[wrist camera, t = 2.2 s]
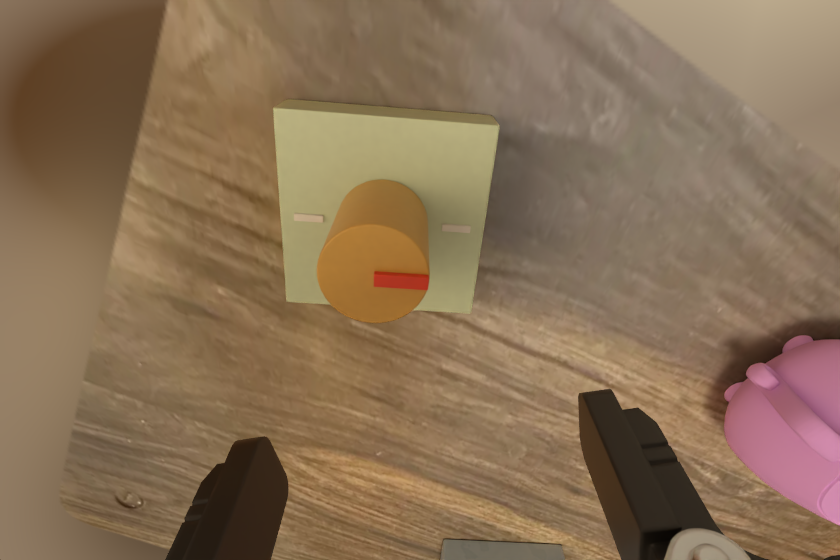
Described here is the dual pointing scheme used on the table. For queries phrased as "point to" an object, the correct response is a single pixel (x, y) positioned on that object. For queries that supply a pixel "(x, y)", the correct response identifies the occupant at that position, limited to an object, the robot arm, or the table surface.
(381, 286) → the lock knob
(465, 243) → the plate
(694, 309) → the table surface
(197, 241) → the table surface
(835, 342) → the teapot
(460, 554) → the grey button base
